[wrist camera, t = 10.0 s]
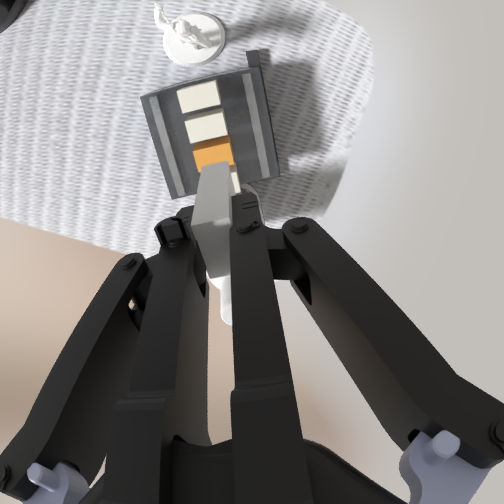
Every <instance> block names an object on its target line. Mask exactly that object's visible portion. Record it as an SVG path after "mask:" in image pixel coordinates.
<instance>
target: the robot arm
mask: <svg viewBox="0 0 504 504" xmlns="http://www.w3.org/2000/svg"><path fill="white" fill-rule="evenodd" d="M27 1H28V0H0V33H1V32H2V31H3V30H5V29H6V28H7V27H8V26H9V25H10V24H11V23H12V22H13V21H14V20H15V19H16V17H17V16H18V15H19V13H20V12H21V11H22V9H23V8H24V6H25V4H26V3H27ZM154 230H155V233H156V235H157V238H158V240H159V242H160V245H161V247H160V251H159V253H158V254H156V255H154V256H152V257H150V258H147V259H145V258H144V256H143V255H142V254H141V253H131V254H128V255H126V256H124V257H123V258H122V259H120V260H119V261H118V262H117V264H116V265H115V266H114V268H113V269H112V271H111V272H110V274H109V275H108V277H107V278H106V280H105V281H104V283H103V284H102V286H101V287H100V289H99V290H98V292H97V293H96V295H95V297H94V298H93V300H92V301H91V303H90V305H89V306H88V308H87V309H86V311H85V313H84V314H83V316H82V317H81V319H80V321H79V322H78V324H77V326H76V327H75V329H74V331H73V333H72V334H71V336H70V337H69V339H68V341H67V343H66V344H65V346H64V348H63V350H62V351H61V354H60V355H59V357H58V359H57V360H56V362H55V364H54V366H53V368H52V370H51V371H50V373H49V376H48V377H47V379H46V381H45V383H44V385H43V387H42V389H41V391H40V393H39V395H38V397H37V399H36V401H35V403H34V405H33V407H32V409H31V411H30V414H29V416H28V418H27V420H26V422H25V424H24V426H23V427H22V428H21V429H20V431H19V432H18V433H17V435H16V436H15V437H14V438H13V439H12V441H11V442H10V443H9V445H8V446H7V447H6V449H5V450H4V451H3V452H2V454H1V455H0V492H2V493H4V494H7V495H8V496H11V497H13V498H15V499H18V500H20V501H21V502H22V503H23V504H408V503H406V502H404V501H403V500H401V499H400V498H398V497H396V496H395V495H393V494H392V493H390V492H389V491H387V490H386V489H384V488H383V487H381V486H380V485H378V484H377V483H375V482H374V481H373V480H371V479H370V478H368V477H367V476H365V475H364V474H363V473H361V472H360V471H358V470H357V469H356V468H354V467H353V466H351V465H350V464H349V463H347V462H346V461H345V460H343V459H342V458H341V457H339V456H338V455H337V454H335V453H334V452H333V451H331V450H330V449H328V448H326V447H325V446H323V445H321V444H318V443H316V442H314V441H310V440H306V439H303V436H302V431H301V425H300V419H299V414H298V408H297V402H296V397H295V391H294V385H293V380H292V374H291V369H290V363H289V358H288V353H287V348H286V342H285V337H284V331H283V326H282V321H281V316H280V310H279V305H278V300H277V295H276V289H275V284H274V279H275V280H290V283H291V285H292V287H293V288H294V290H295V291H296V293H297V295H298V296H299V297H300V299H301V301H302V302H303V304H304V305H305V307H306V308H307V310H308V311H309V312H310V314H311V316H312V317H313V319H314V320H315V322H316V324H317V325H318V326H319V328H320V330H321V331H322V333H323V334H324V336H325V337H326V339H327V340H328V342H329V343H330V345H331V347H332V348H333V350H334V351H335V353H336V354H337V356H338V357H339V359H340V360H341V362H342V363H343V365H344V367H345V368H346V370H347V371H348V373H349V374H350V376H351V377H352V379H353V381H354V382H355V384H356V385H357V387H358V388H359V390H360V391H361V393H362V394H363V396H364V398H365V399H366V401H367V402H368V404H369V406H370V407H371V409H372V410H373V412H374V414H375V415H376V417H377V418H378V420H379V421H380V423H381V425H382V426H383V428H384V429H385V431H386V432H387V433H388V434H389V436H390V437H391V439H392V440H393V441H394V442H395V443H396V444H397V445H398V446H399V447H400V448H401V450H402V451H404V453H403V455H402V456H401V459H400V462H399V471H400V474H401V476H402V478H403V479H404V480H405V482H406V483H407V484H408V486H409V489H410V492H411V497H410V502H409V504H468V503H469V501H470V500H471V498H472V497H473V495H474V494H475V493H476V491H477V489H478V488H479V486H480V485H481V483H482V482H483V480H484V479H485V477H486V476H487V474H488V472H489V471H490V470H491V468H492V467H494V466H495V465H496V464H498V463H500V462H502V461H503V460H504V404H503V403H502V402H500V401H499V400H497V399H496V398H494V397H492V396H491V395H489V394H487V393H486V392H484V391H483V390H481V389H479V388H478V387H476V386H474V385H473V384H471V383H470V382H468V381H466V380H465V379H463V378H462V377H460V376H459V375H457V374H456V373H455V371H454V370H453V369H452V368H451V367H450V365H449V364H448V363H447V362H446V361H445V359H444V358H443V357H442V356H441V355H440V353H439V352H438V351H437V350H436V349H435V347H434V346H433V345H432V344H431V343H430V342H429V341H428V340H427V338H426V337H425V336H424V335H423V334H422V332H421V331H420V330H419V329H418V328H417V327H416V326H415V325H414V323H413V322H412V321H411V320H410V319H409V318H408V317H407V316H406V314H405V313H404V312H403V311H402V310H401V309H400V308H399V307H398V306H397V305H396V304H395V303H394V301H393V300H392V299H391V298H390V297H389V296H388V295H387V294H386V293H385V292H384V290H383V289H382V288H381V287H380V286H379V285H378V284H377V283H376V282H375V281H374V280H373V279H372V278H371V277H370V276H369V275H368V274H367V273H366V272H365V270H364V269H363V268H362V267H361V266H360V265H359V264H357V262H356V261H355V260H354V259H353V258H352V257H351V256H350V255H349V254H348V253H347V252H346V251H345V250H344V249H343V248H342V247H341V246H340V245H339V244H338V243H337V242H336V241H335V240H334V239H333V238H332V237H331V236H330V235H329V234H328V233H327V232H326V231H325V230H324V229H323V228H322V227H321V226H320V225H319V224H318V223H317V222H316V221H314V220H312V219H311V218H306V217H297V218H293V219H290V220H288V221H286V222H285V223H284V224H283V226H282V229H273V228H269V227H267V226H265V225H264V224H263V222H262V219H261V214H260V209H259V204H258V200H257V196H256V195H255V194H254V193H252V192H248V193H244V194H239V195H236V193H235V188H234V184H233V180H232V176H231V172H230V168H229V163H228V160H227V161H223V162H218V163H214V164H210V165H205V166H202V168H201V173H200V178H199V184H198V189H197V194H196V199H195V205H193V206H188V207H184V208H181V209H180V211H179V212H178V213H177V214H176V216H173V217H169V218H166V219H164V220H162V221H161V222H159V223H158V224H157V225H156V226H155V228H154ZM206 270H207V273H208V276H209V279H213V278H219V277H224V276H229V275H230V277H231V306H232V331H233V352H234V353H233V354H234V374H235V388H234V390H233V391H232V392H231V399H230V403H231V404H230V406H231V427H232V439H230V440H227V441H224V442H221V443H218V444H215V445H212V443H211V441H210V438H209V435H208V427H207V425H208V423H207V362H208V312H209V311H208V310H209V284H208V282H207V279H206ZM130 300H132V301H133V303H134V307H133V308H132V309H130V308H129V306H128V305H129V302H130ZM106 454H107V455H106ZM105 456H106V464H105V473H104V474H103V475H102V476H101V477H100V479H99V480H98V481H97V482H96V483H95V484H94V486H93V487H92V488H91V489H90V488H89V486H90V485H91V483H92V482H93V481H94V479H95V477H96V476H97V474H98V472H99V470H100V468H101V466H102V464H103V461H104V459H105Z"/></svg>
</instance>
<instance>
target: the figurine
mask: <svg viewBox="0 0 504 504" xmlns="http://www.w3.org/2000/svg"><path fill="white" fill-rule="evenodd" d="M154 5H155V11H154V16H155V22H156V25H157V27H158V28H159V29H162V30H164V31H165V34H164V37H163V45H164V49H165V52H166V54H167V55H168V57H169V58H170V59H171V60H172V61H174V62H175V63H177V64H179V65H182V66H186V67H198V66H202V65H205V64H207V63H209V62H211V61H212V60H214V59H215V58H216V57H217V56H218V55H219V54H220V52H221V51H222V49H223V46H224V44H225V31H224V28H223V26H222V24H221V23H220V22H219V20H218V19H217V18H215V17H214V16H212V15H210V14H208V13H204V12H188V13H185V14H182V15H180V16H179V17H177V18H176V19H174V20H173V21H172V22H171V23H169V22H168V20H167V19H166V17H165V16H164V14H163V13H162V12H163V8H162V6H161V5H160V4H158V3H156V2H155V4H154ZM161 13H162V14H163V16H164V17H165V19H166V20H167V22H168V23H169V24H166V22H165V21H163V18H162V14H161Z"/></svg>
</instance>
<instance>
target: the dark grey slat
mask: <svg viewBox="0 0 504 504" xmlns="http://www.w3.org/2000/svg"><path fill="white" fill-rule="evenodd" d="M246 55H247V60H248V64H249V68H251V67H259V69H260V74H261V79H262V84H263V89H264V94H265V99H266V105H267V110H268V115H269V121H270V126H271V132H272V137H273V143H274V149H275V155H276V160H277V166H278V172H279V176H280V170H279V164H278V158H277V152H276V146H275V140H274V134H273V129H272V123H271V118H270V112H269V107H268V102H267V96H266V91H265V86H264V81H263V76H262V71H261V66H260V61H259V56H258V51H257V50H252V51H246Z"/></svg>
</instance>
